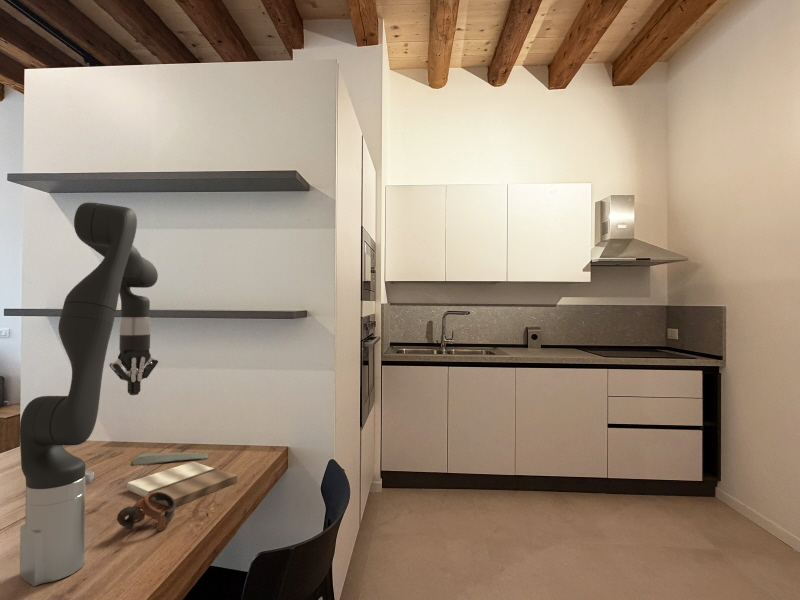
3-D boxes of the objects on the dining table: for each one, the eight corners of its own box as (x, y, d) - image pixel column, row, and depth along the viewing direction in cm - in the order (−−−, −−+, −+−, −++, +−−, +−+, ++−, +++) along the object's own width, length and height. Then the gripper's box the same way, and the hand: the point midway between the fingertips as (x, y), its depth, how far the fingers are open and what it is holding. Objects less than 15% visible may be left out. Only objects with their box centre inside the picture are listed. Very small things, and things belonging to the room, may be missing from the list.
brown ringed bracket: (152, 515, 114) (169, 486, 114) (169, 543, 109) (186, 513, 108) (102, 521, 104) (120, 490, 104) (118, 552, 98) (137, 519, 98)
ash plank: (148, 499, 122) (148, 491, 122) (127, 489, 127) (127, 482, 127) (213, 475, 139) (213, 468, 139) (192, 467, 144) (192, 461, 144)
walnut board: (172, 508, 116) (172, 499, 116) (149, 499, 121) (149, 491, 121) (237, 482, 133) (237, 474, 133) (214, 475, 139) (214, 468, 139)
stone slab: (138, 461, 155) (131, 467, 145) (139, 453, 155) (131, 458, 146) (210, 456, 162) (207, 461, 152) (210, 448, 162) (208, 453, 152)
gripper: (117, 334, 124) (116, 400, 123) (165, 332, 135) (164, 392, 135) (103, 333, 128) (102, 397, 127) (150, 331, 139) (149, 390, 139)
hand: (134, 394), depth 131 cm, fingers closed
